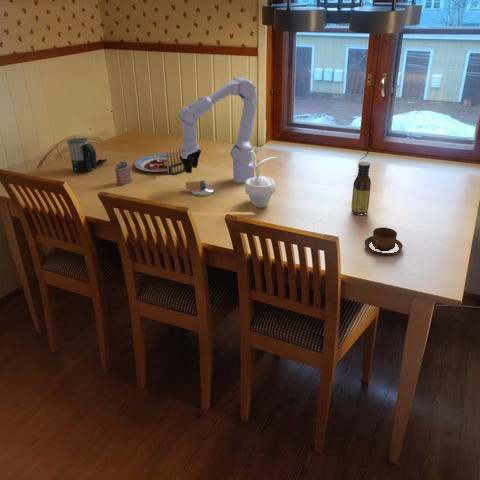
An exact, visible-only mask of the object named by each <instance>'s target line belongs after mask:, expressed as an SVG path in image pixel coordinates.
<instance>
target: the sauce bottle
mask: <svg viewBox="0 0 480 480" xmlns="http://www.w3.org/2000/svg"><path fill="white" fill-rule="evenodd" d="M370 167H371V163H370V162H367V161H360V162H358V166H357V168H358V171H357V175H356V177H355V179H354V181H353V186H352V196H351V197H352V198H351V205H350V206H351V213H352V212H353V213H355V214H365V213H367V214H368V210H369V205H370V198H371V197H370V196H371V189H372V188H371V186H372V185H371V184H372V182H371V178H370V175H369V174H370V173H369V172H370ZM353 213H352V214H353ZM355 214H354V215H355ZM365 215H366V214H365Z"/></svg>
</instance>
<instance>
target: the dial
mask: <svg viewBox="0 0 480 480" xmlns="http://www.w3.org/2000/svg"><path fill="white" fill-rule="evenodd" d="M184 183H185V191H188V190H190V194H192V196H193V195H194V196H195V197H207V196H212V195H213V194H214V193H215V192H216V190H215V189H216V188H215V186H213V185H211V184H206V180H199V181H198V180H196V181H195V180H194V181H192V180H191V181H190V180H189V181H185V182H184Z"/></svg>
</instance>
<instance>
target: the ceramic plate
mask: <svg viewBox="0 0 480 480" xmlns="http://www.w3.org/2000/svg"><path fill="white" fill-rule="evenodd" d="M169 155H170V153H169ZM172 155H173V153H172ZM134 167H135V168H136V169H138V170H141V171H145V172H151V173H155V172H156V173H165V172H167V153H157V154H150V155H146V156H143V157H140V158H138V159H137V160H136V161H135V162H134Z"/></svg>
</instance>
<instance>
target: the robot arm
mask: <svg viewBox="0 0 480 480" xmlns="http://www.w3.org/2000/svg"><path fill="white" fill-rule="evenodd" d="M231 95H233V96H239V98H240V99H241V100H242V102H243V105H242V106H243V107H242V111H241V117H240V122H239V123H240V124H239V129H238V134H237V139H236V140H235V141H234V142H233V146H232V148H231V150H230V151H229V154H230V156H231V158H232V176H233V177H232V178H233V179H232V180H233V182H234V183H237V184H245V181H246V180H247V179H249V178H253V177H256V175H255V167H254V165H253V162H252V160H253V154H252V153H250V152H249V151H253V148H252V145H251V138H252V133H253V126H254V122H255V118H256V111H257V107H258V106H257V105H258V101H259V100H258V96H257V92H256V85H255V84H254V83H253V82H252V81H251V80H249V79H245V78H242V77H240V76H234V77H233V79H230V80H228V81H227V82H226V83H225V84H223V86H221V87H219V89H216V91H215V92H212V94H211V95H209V96H206V95H205V96H199V97H198V100H196V101H194V102H193V103H189V104H188V106H183V107H182V108H180V111H179V114H178V117H179V119H180V120H181V135H182V147H180V148H181V151H182V150H183V153H182V152H181V153H182V155H181V156H180V160H181V161H182V163H183V165H184V167H185V170H186V172H185V173H186V174H192V171H193V168H195V169H197V168H198V166H199V165H198V164H199V159H200V156H201V153H202V149H199V148H200V145H199V144H200V143H198V138H197V133H198V132H197V121H198V119H199V118H200V117H201V116H203V115H205V114H206V113H207V112H209V111H211V110H212V109H213V106H214V105H215V104H216V103H217V102H219V101H221V100H222V99H225V98H227V97H229V96H231Z"/></svg>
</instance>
